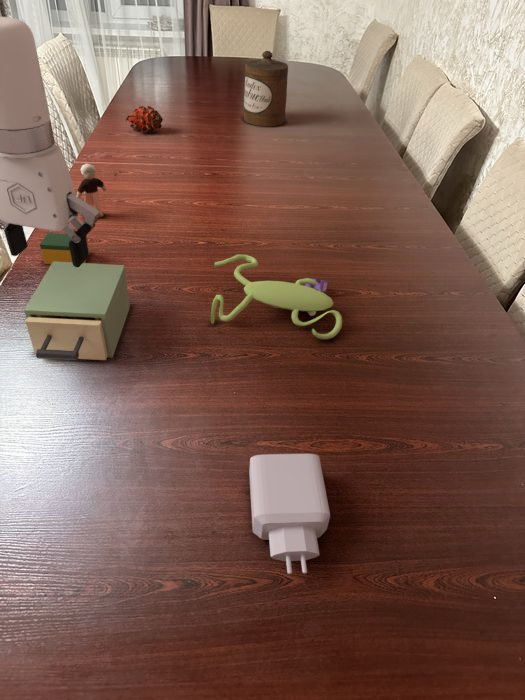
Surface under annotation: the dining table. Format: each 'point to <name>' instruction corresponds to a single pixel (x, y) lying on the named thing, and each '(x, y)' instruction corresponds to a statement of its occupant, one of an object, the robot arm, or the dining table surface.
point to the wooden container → (265, 91)
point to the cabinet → (84, 296)
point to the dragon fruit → (145, 119)
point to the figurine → (280, 296)
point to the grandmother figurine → (90, 187)
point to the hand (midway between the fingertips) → (50, 256)
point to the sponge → (56, 248)
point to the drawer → (67, 337)
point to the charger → (289, 505)
